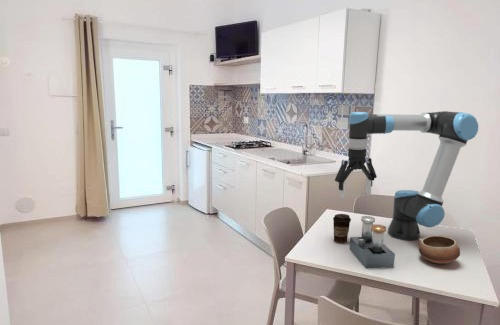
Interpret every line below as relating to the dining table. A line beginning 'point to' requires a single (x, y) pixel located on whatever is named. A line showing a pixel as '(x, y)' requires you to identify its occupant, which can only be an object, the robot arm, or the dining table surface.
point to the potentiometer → (361, 242)
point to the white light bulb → (367, 227)
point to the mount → (372, 255)
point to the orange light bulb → (377, 237)
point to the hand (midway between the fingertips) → (355, 195)
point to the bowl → (439, 249)
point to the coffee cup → (341, 227)
